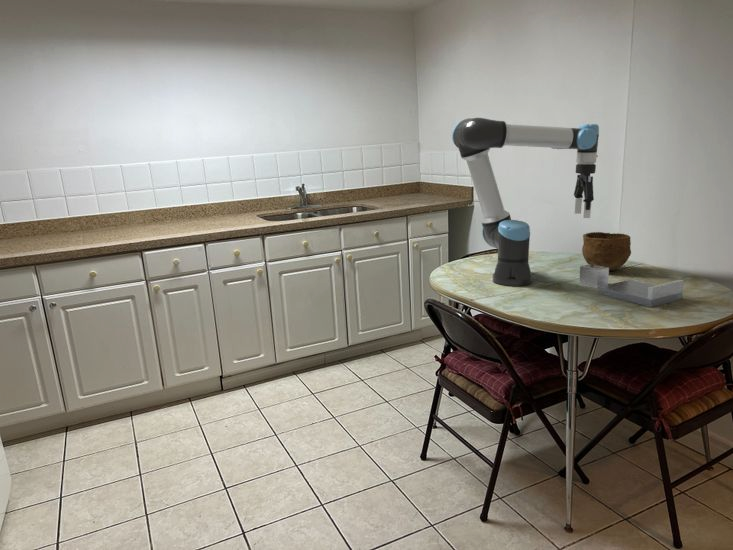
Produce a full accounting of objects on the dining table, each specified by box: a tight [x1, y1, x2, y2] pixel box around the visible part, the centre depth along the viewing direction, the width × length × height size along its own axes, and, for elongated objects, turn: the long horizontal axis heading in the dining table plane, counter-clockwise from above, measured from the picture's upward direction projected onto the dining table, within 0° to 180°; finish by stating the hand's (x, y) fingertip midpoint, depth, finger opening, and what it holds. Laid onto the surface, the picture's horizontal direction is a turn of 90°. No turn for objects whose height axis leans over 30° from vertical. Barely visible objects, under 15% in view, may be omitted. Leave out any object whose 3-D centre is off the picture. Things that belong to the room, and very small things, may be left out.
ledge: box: [598, 279, 685, 308], centre depth 189 cm, size 17×20×6 cm
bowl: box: [581, 231, 632, 272], centre depth 226 cm, size 19×19×15 cm
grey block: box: [578, 264, 610, 289], centre depth 205 cm, size 6×8×8 cm
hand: (581, 215), depth 225 cm, fingers open, 13 cm apart
